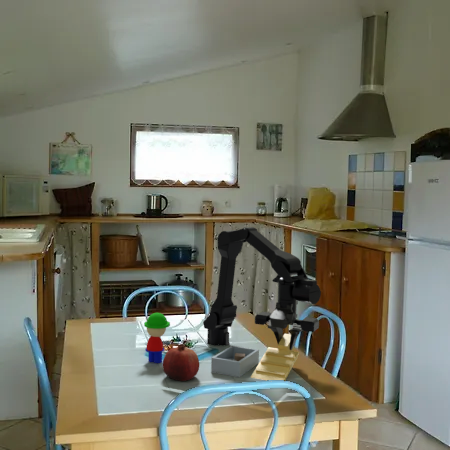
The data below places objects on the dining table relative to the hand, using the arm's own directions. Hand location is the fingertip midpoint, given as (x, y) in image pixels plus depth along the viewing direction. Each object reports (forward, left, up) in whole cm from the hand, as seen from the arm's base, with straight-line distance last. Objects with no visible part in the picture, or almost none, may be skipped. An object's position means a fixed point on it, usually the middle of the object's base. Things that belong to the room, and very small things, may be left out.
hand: (285, 349), depth 174 cm
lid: (0, -6, -2) cm, 6 cm away
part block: (-12, -7, -5) cm, 15 cm away
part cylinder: (-12, -13, -5) cm, 18 cm away
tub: (-12, -10, -6) cm, 17 cm away
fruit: (-22, -25, -6) cm, 34 cm away
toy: (-37, -14, -6) cm, 40 cm away
